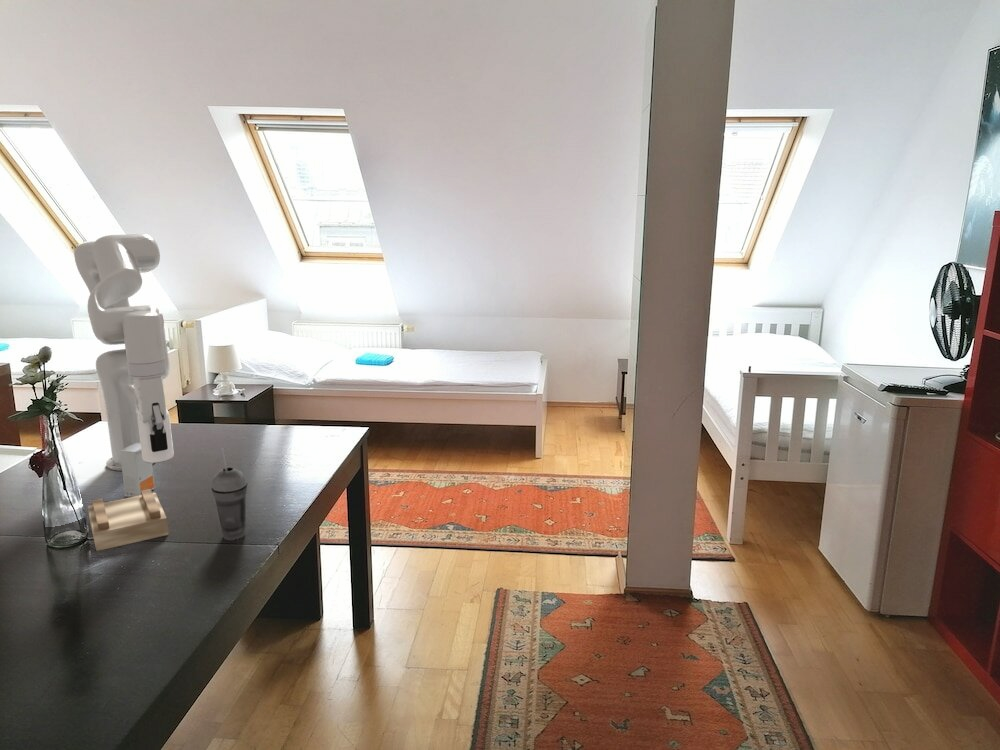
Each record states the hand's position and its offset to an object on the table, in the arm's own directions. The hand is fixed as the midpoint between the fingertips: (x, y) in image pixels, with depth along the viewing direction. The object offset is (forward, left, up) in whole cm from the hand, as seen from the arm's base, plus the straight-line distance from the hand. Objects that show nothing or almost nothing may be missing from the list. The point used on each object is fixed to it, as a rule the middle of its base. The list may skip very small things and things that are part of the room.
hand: (156, 445), depth 164 cm
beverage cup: (+18, +11, -18) cm, 28 cm away
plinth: (+2, -8, -18) cm, 19 cm away
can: (0, 0, -3) cm, 3 cm away
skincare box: (-18, -3, -18) cm, 26 cm away
